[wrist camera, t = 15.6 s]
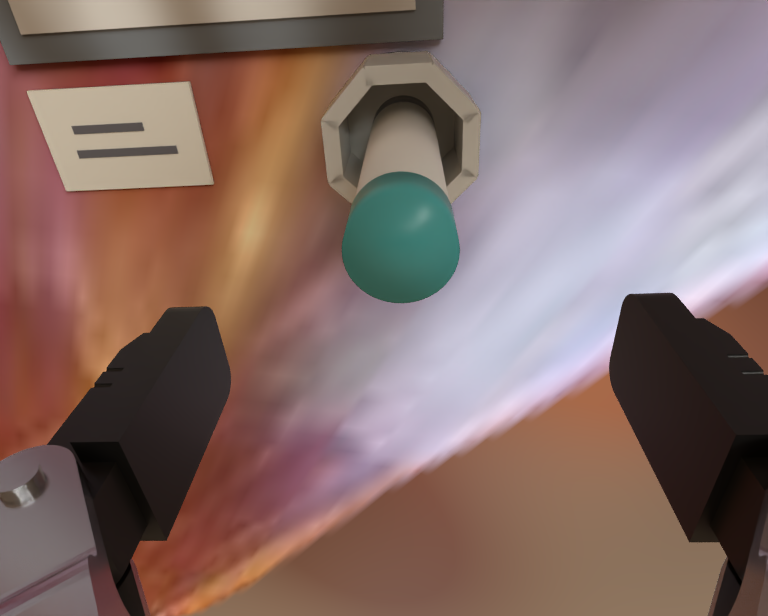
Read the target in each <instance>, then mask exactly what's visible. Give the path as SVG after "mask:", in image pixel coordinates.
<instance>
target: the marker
mask: <svg viewBox="0 0 768 616" xmlns="http://www.w3.org/2000/svg"><path fill="white" fill-rule="evenodd" d="M459 253H460V247H459V240H458V235H457V230H456V225H455V220H454V215H453V210H452V206H451V203H450V201H449V198H448V193H447V187H446V182H445V177H444V172H443V166H442V161H441V156H440V151H439V146H438V140H437V135H436V130H435V125H434V120H433V116H432V114H431V112H430V110H429V108H428V107H427V106H426V105H425V104H424V103H423V102H422V101H421V100H419V99H417V98H415V97H412V96H407V95H401V96H396V97H393V98H390V99H389V100H387V101H385V102H384V103H383V104H382V105H381V106H380V107H379V109H378V110H377V112H376V114H375V116H374V120H373V124H372V128H371V132H370V136H369V141H368V145H367V149H366V153H365V157H364V162H363V166H362V170H361V174H360V178H359V183H358V187H357V191H356V195H355V199H354V201H353V203H352V205H351V209H350V213H349V217H348V221H347V225H346V229H345V233H344V237H343V241H342V258H343V263H344V266H345V269H346V271H347V273H348V275H349V276H350V278H351V279H352V281H353V282H354V283H355V284H356V285H357V286H358V287H359V288H360V289H361V290H363V291H364V292H366V293H367V294H369V295H371V296H372V297H374V298H377V299H380V300H383V301H387V302H393V303H410V302H415V301H419V300H422V299H425V298H427V297H429V296H431V295H433V294H434V293H436V292H437V291H439V290H440V289H441V288H442V287H443V286H444V285H445V284H446V283H447V282H448V281H449V280H450V278H451V277H452V275H453V274H454V272H455V269H456V267H457V264H458V260H459Z"/></svg>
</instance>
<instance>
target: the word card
mask: <svg viewBox="0 0 768 616" xmlns="http://www.w3.org/2000/svg"><path fill="white" fill-rule="evenodd" d="M27 94H28V96H29V99H30V101H31V104H32V106H33V109H34V111H35V114H36V116H37V119H38V121H39V124H40V126H41V129H42V131H43V134H44V136H45V139H46V141H47V144H48V146H49V149H50V151H51V154H52V156H53V159H54V161H55V164H56V166H57V169H58V171H59V174H60V176H61V179H62V182H63V184H64V187H65V189H66V191H85V190H107V189H128V188H150V187H172V186H193V185H213V184H214V180H213V176H212V172H211V167H210V163H209V159H208V155H207V151H206V146H205V142H204V138H203V134H202V130H201V125H200V121H199V117H198V113H197V109H196V104H195V100H194V96H193V92H192V88H191V83H190V81H187V82H170V83H152V84H135V85H117V86H100V87H82V88H65V89H47V90H30V91H27Z"/></svg>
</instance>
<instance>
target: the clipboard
mask: <svg viewBox="0 0 768 616" xmlns="http://www.w3.org/2000/svg"><path fill="white" fill-rule="evenodd" d="M436 39H443V0H0V41H1V44H2V46H3V49H4V51H5V54H6V56H7V59H8V61H9V64H10V65H20V64H36V63H53V62H70V61H86V60H103V59H120V58H136V57H153V56H170V55H186V54H203V53H220V52H236V51H253V50H270V49H286V48H303V47H320V46H336V45H353V44H370V43H386V42H403V41H420V40H436Z"/></svg>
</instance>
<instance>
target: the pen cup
mask: <svg viewBox="0 0 768 616" xmlns="http://www.w3.org/2000/svg"><path fill="white" fill-rule="evenodd" d="M401 95H407V96H412V97H415V98H417V99H419V100H421V101H422V102H423V103H424V104H425V105H426V106H427V107H428V108H429V110H430V112H431V114H432V116H433V120H434V125H435V130H436V135H437V140H438V146H439V151H440V156H441V161H442V166H443V172H444V177H445V182H446V187H447V193H448V198H449V201H450V203H453V202H454V201H455V200H456V199H457V198H458V197H459V196H460V195H461V194H462V193H463V192H464V191H465V190H466V189H467V188H468V187H469V186H470V185H471V184H472V183H473V182H474V181H475V180H476V179H477V176H478V169H479V146H480V123H481V112H480V110H479V108H478V107H477V105H476V104H475V102H474V100H473V99H472V97H471V96H470V94H469V93H468V92H467V91H466V90H465V89H464V88H463V87H462V85H461V84H460V83H459V82H458V81H457V80H456V79H455V78H454V77H453V76H452V75H451V74H450V72H449V71H448V70H447V69H445V68H444V67H443V66H442V65H441V64H440V63H439V62H438V60H437V59H436V58H435V57H434V56H433V55H432V54H431V53H430V52H429V53H428V51H420V52H391V53H386V54H370V55H369V56H367V57H366V59H365V60H364V61H363V63H362V64H361V65H360V66H359V68H358V69H357V70H356V71H355V73H354V74H353V75H352V76H351V77H350V79H349V80H348V81H347V83H346V84H345V85H344V86H343V88H342V89H341V90H340V92H339V93H338V94H337V95H336V97H335V98H334V99H333V100H332V102H331V104H330V105H329V107H328V109H327V110H326V112H325V114H324V116H323V117H322V120H321V128H322V136H323V145H324V154H325V162H326V171H327V179H328V183H329V185H330V186H331V187H332V188H333V189H334V190H336V191H337V192H338V193H339V194H340V195H341V196H343V197H344V198H345V199H346V200H347V201H349V202H350V203H351V204H352V203H353V201H354V199H355V195H356V191H357V187H358V183H359V178H360V174H361V170H362V166H363V162H364V157H365V153H366V149H367V145H368V141H369V136H370V132H371V128H372V124H373V120H374V116H375V114H376V112H377V110H378V109H379V107H380V106H381V105H382V104H383V103H384V102H385V101H387V100H389V99H390V98H393V97H396V96H401Z"/></svg>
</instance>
